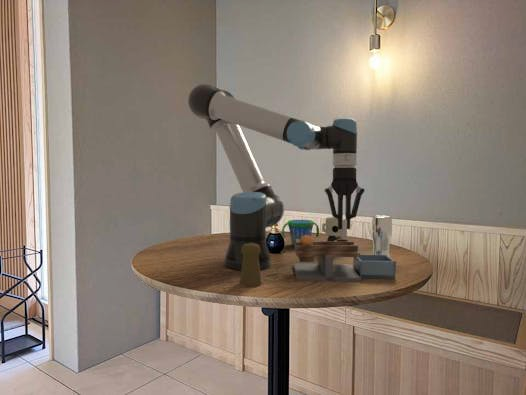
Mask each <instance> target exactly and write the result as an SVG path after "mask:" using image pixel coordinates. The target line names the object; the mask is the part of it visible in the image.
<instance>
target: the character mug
mask: <svg viewBox="0 0 526 395" xmlns="http://www.w3.org/2000/svg"><path fill="white" fill-rule="evenodd" d="M342 219H345V218H344V217H343V218H342ZM321 225H322V227H321V231H322V232H323V233H324V234H325V235H327V236H328V237H327V240H326V241H335V240H337V239H341V229H338V219H337V218H335V217H333V216H332V217H331V216H330V217H326V218H325V223H322V224H321Z"/></svg>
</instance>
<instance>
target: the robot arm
mask: <svg viewBox="0 0 526 395" xmlns="http://www.w3.org/2000/svg"><path fill="white" fill-rule="evenodd" d="M187 102H188V106H189V109H190V111H191V112H192V114H194V115H195V116H196V117H198V118H200V119H204V120H206V121H207V124H208V126H209V128H210V130H211V132H213V133H216V134H217V136H218V139H219V141H220V143H221V146H222V147H223V149H224V152H225V155H226V156H227V158H228V159H227V160H228V161H229V164H230V166H231V168H232V170H233V173H234V175H235V176H236V179H237V182H238V184H239V186H240V190H241V191H242V192H237V193H235V194H233V195H232V196H231V197H230V204H229V243H228V247H227V248H226V253H225V255H224V262H223V264H224V267H226V268H229V269H232V270H239V271H241V269H242V262H243V254H242V252H241V249H242V246H243V245H244V244H248V243H254V244H258V245H259V246H260V249H261V250H260V254H259V256H258V257H259V266H260V270H263V269H267V268H270V267H271V266H272V265H271V263H272V262H271V260H272V259H271V255H270V251H269V248H268V245H267V242H266V240H267V239H266V234H267V233H266V232H267V230H266V229H267V228H271V227H273V226H275V225H277V224H278V223H279V222H280V221H281V220H282V218H283V216H284V213H285V205H284V201H283V200H282V198H280V197H279V196H278V195H276V194H275V192H274V190H273V188H272V186H271V184H269V183H267V182H265V180H264V177H263V176H262V173H261V171H260V169H259V167H258V164H257V161H256V160H255V158H254V156H253V154H252V152H251V149H250V146H249V144H248V141H247V140H246V138H245V136H244V133H243V131H242V128H245V129H248V130H251V131H255V132H257V133H260V134H263V135H266V136H268V137H271V138H275V139H277V140H280V141H283V142H285V143H289V144H292V145H293V146H294V147H297V148H298V149H299V150H306V151H311V150H327V149H328V150H331V149H332V166H333V167H334V168H332V182H331V183H330V186H328V187H326V188H324V192H325V194H326V196H327V198H328V203H329V207H330V212H331V215H332V217H335V218H337V219H338V229H341V236H340V237H341V239H342V240H348V230H350V229H351V220H352V219H354V218H356V217H357V213H358V211H359V210H358V209H359V206H360V203H361V199H362V196H363V195H364V193H365V189H364V188H362V187H360V186H359V183H358V181H357V167H356V166H357V150H358V149H357V147H358V146H357V145H358V142H357V141H358V132H357V131H358V130H357V129H358V127H357V120H355V119H354V118H349V117H346V118H345V117H342V118H334V119H333V123H332V125H327V126H322V125H321V126H320V125H319V126H316V125H314V124H312V123H310V122H308V121H305V120H302V119H301V120H300V119H298V118H294V117H291V116H289V115H285V114H282V113H280V112H279V113H278V112H276V111H273V110H269V109H266V108H264V107H260V106H259V105H258V106H257V105H254V104H251V103H248V102H245V101H242V100H239V99H237V98H236V97H235V96H234V95H233V94H232V93H230V92H229V91H227V90H224V89H220V88H218V87H216V86H213V85H210V84H206V83H204V84H199V85H197V86H195V87H193V88H192V90H191V91H190V93H189V94H188V100H187ZM241 127H242V128H241ZM333 191H334V193H336V195H337V209H336V206H335V200H334V196H333V194H332V193H333ZM354 192H355V193H356V194H355V197H354V202H353V205H352V195H353V193H354ZM344 196H345V211H344V212H345V216H344V214H343V213H344V212H343V209H344ZM343 216H344V217H345V218H344V217H343ZM342 218H344V219H342Z"/></svg>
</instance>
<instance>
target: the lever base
mask: <svg viewBox="0 0 526 395" xmlns="http://www.w3.org/2000/svg"><path fill="white" fill-rule="evenodd" d="M317 258H318V259H317V263H301V262H299V263H293V269H294V272H295V273H294V274H295V277H296V280H297V281H311V282H312V281H314V282H315V281H317V282H318V281H320V282H321V281H325V282H362V278H361V277H360V276H359V275H358V274H357V273H356V271H355V270H354V269H353V267H352V264H348V263H347V264H345V263H342V264H341V263H337V264H336V263H334V257H333V256H332V255H325V257H317Z"/></svg>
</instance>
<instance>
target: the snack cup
mask: <svg viewBox="0 0 526 395" xmlns="http://www.w3.org/2000/svg"><path fill="white" fill-rule="evenodd" d="M287 226H288V228H289V236H290V243H291V246H294V245H295V239H299V240H300V239H301V237H302V236H305V235H308V236H310V237H311V238H312V234H313V233H312V231H313V228H314V226H316V228H315V229H316V234H315V237H316V238H318V237H320V228H319V225H318V224H317V223H316V222H315V221H313V220H310V219H290V220H288V221H287V222H286V223H285V224H283V227H282V229H281V235H282V236H281V237H282V238H283V239H285V238H286V236H285V228H286V227H287Z"/></svg>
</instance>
